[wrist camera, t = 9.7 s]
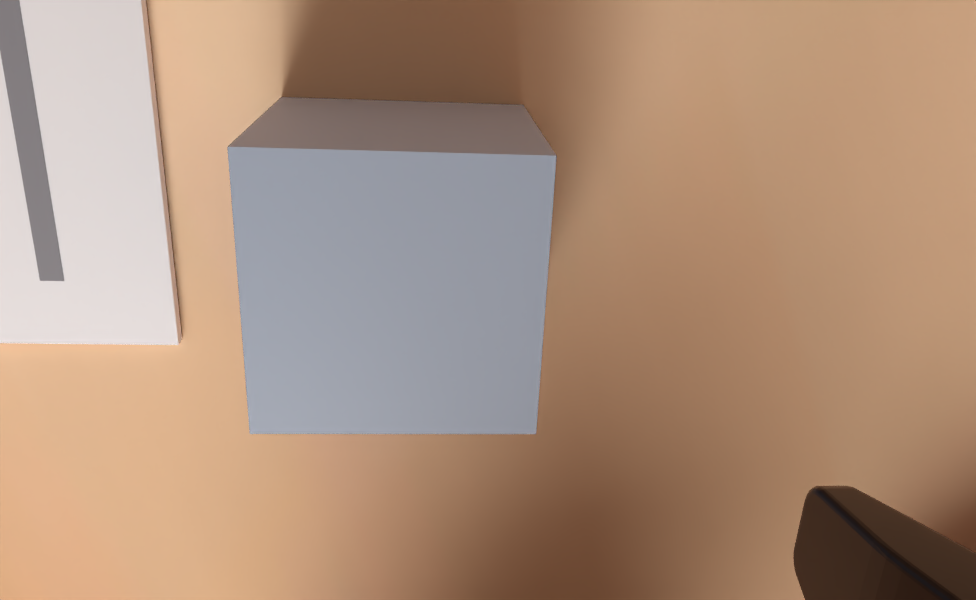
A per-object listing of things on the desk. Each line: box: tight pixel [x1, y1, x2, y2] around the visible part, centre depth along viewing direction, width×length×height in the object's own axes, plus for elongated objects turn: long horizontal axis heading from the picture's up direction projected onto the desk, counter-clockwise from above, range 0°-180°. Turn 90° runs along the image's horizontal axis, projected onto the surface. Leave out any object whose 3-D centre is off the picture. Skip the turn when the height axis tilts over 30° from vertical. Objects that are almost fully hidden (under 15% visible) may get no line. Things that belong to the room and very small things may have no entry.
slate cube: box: [228, 97, 557, 434], centre depth 16 cm, size 5×5×5 cm
